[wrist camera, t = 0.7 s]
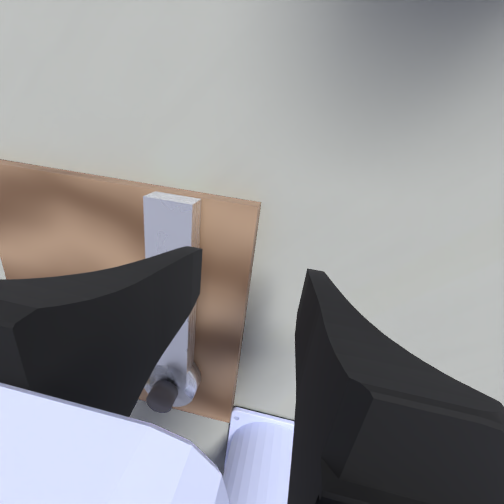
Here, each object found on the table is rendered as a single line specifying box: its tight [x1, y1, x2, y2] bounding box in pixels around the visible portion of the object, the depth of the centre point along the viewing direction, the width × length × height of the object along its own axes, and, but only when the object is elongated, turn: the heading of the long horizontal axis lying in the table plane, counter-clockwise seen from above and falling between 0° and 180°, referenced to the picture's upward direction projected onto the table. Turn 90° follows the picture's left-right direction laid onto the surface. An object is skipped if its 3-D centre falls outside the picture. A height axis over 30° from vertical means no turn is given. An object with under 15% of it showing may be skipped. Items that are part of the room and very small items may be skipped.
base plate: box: [0, 159, 261, 423], centre depth 22 cm, size 20×20×4 cm
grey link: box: [143, 191, 201, 407], centre depth 20 cm, size 17×4×2 cm, turn 173°
